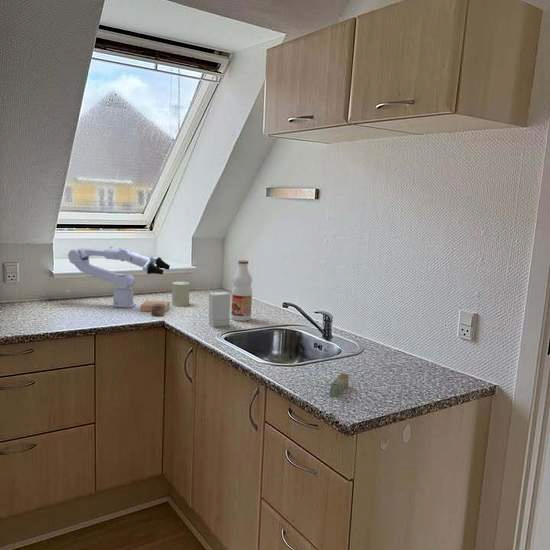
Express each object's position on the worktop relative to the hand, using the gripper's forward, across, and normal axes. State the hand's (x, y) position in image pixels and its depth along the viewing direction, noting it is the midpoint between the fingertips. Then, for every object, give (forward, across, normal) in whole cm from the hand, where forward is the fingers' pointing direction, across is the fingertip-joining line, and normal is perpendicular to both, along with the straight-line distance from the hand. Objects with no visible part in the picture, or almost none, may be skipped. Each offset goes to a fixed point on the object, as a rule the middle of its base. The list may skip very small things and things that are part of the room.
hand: (166, 270), depth 260 cm
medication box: (+92, -87, -24) cm, 129 cm away
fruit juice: (+45, -9, +6) cm, 46 cm away
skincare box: (+38, -25, +5) cm, 46 cm away
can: (+9, +10, +21) cm, 25 cm away
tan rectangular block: (+1, -6, +20) cm, 21 cm away
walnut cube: (+7, -16, +16) cm, 24 cm away
